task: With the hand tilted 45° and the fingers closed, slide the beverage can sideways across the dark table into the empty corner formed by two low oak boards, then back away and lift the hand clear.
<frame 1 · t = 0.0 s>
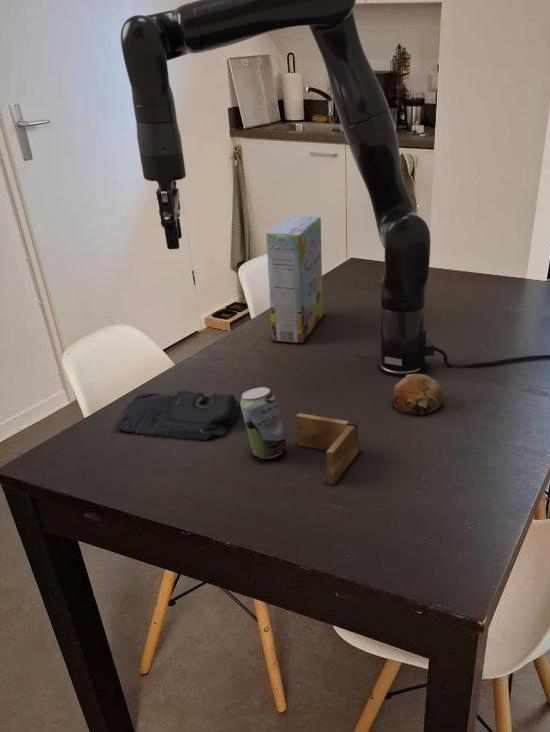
hand: (175, 243, 132), 29 cm above the table, tool pointing down, fingers open, 8 cm apart
grommeted fabric pouch: (180, 419, 134), on the table
snack box: (299, 329, 177), on the table
beverage can: (266, 454, 123), on the table
bread roll: (416, 406, 138), on the table
shelf corner: (318, 463, 119), on the table
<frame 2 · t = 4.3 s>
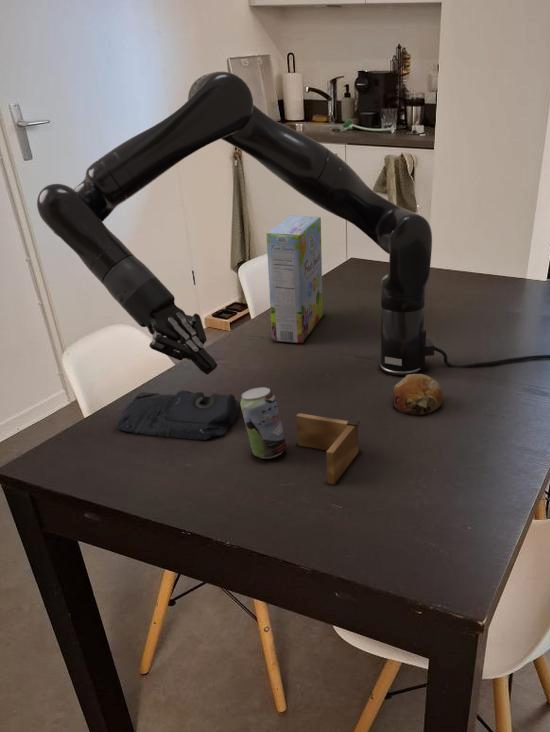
hand: (212, 370, 117), 15 cm above the table, tool tilted 45°, fingers closed
nothing on the table moved.
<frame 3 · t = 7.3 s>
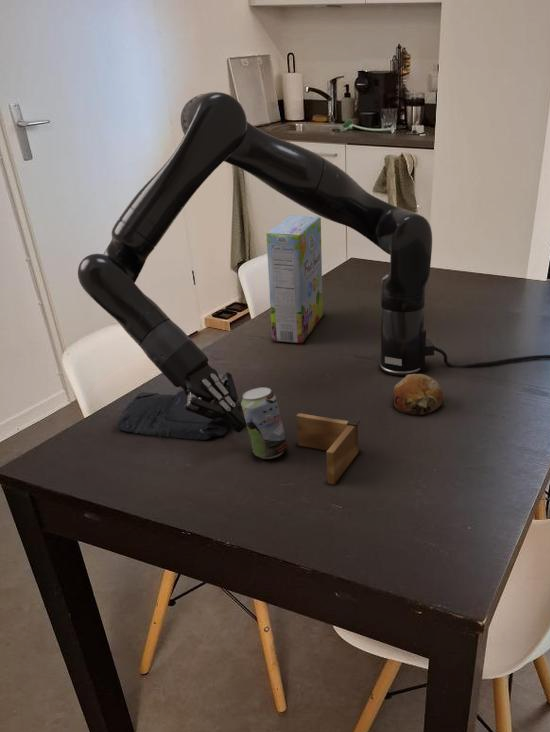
hand: (243, 428, 121), 4 cm above the table, tool tilted 45°, fingers closed
beverage can: (267, 454, 122), on the table, touching gripper
everything else where it was.
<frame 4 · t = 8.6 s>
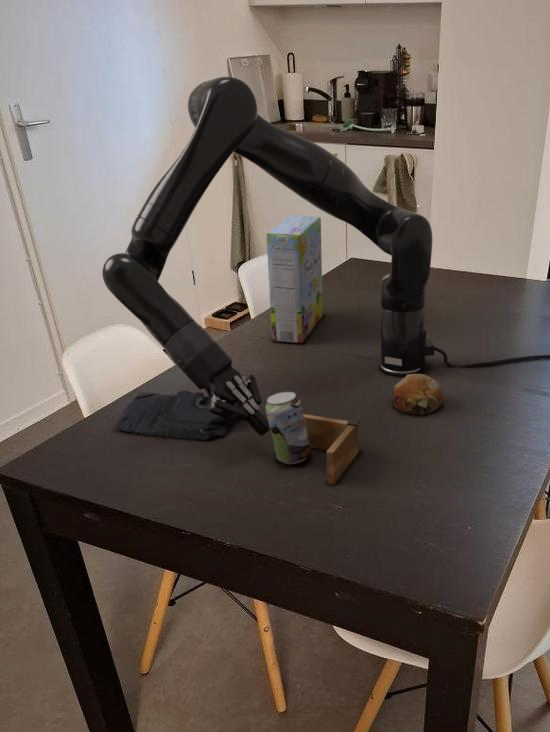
hand: (267, 431, 120), 5 cm above the table, tool tilted 45°, fingers closed
beverage can: (290, 459, 121), on the table, touching gripper
everything else where it was.
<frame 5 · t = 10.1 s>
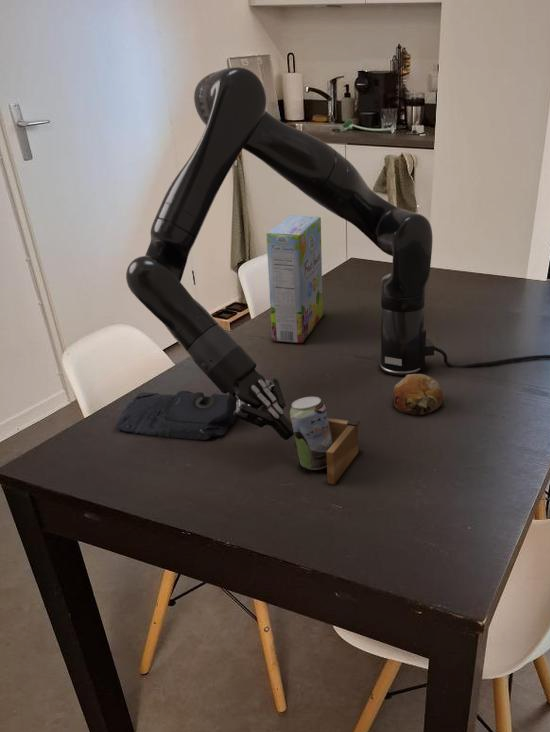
hand: (291, 435, 118), 5 cm above the table, tool tilted 45°, fingers closed
beverage can: (314, 465, 119), on the table, touching gripper
everything else where it was.
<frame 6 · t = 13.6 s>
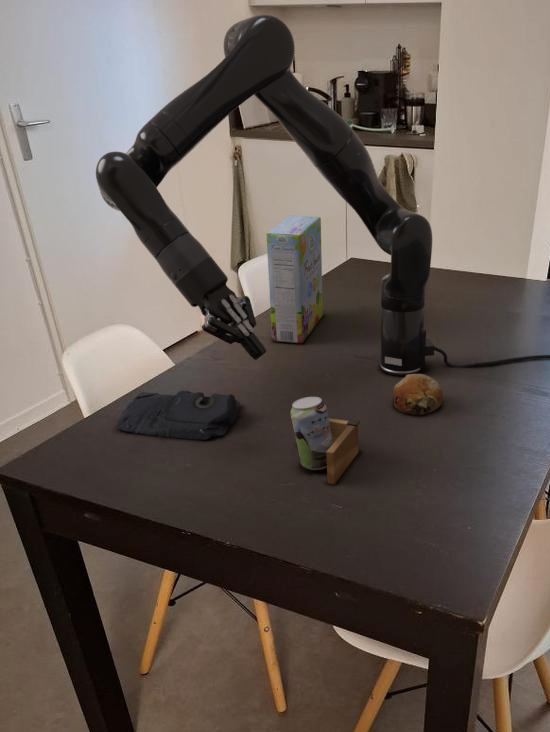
hand: (261, 355, 116), 17 cm above the table, tool tilted 40°, fingers closed
beverage can: (315, 465, 119), on the table
everything else where it was.
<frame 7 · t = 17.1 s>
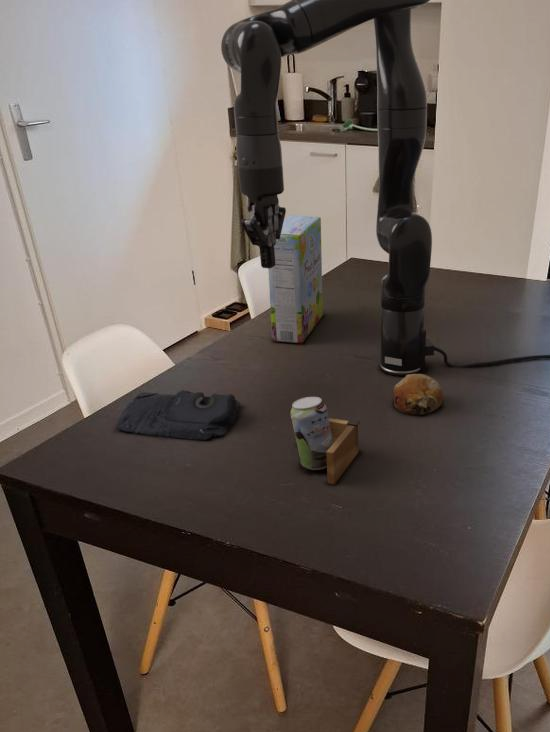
hand: (268, 267, 126), 27 cm above the table, tool pointing down, fingers closed
nothing on the table moved.
at the end: beverage can 0.8 cm from the shelf corner (horizontally); beverage can tilted 0° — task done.
